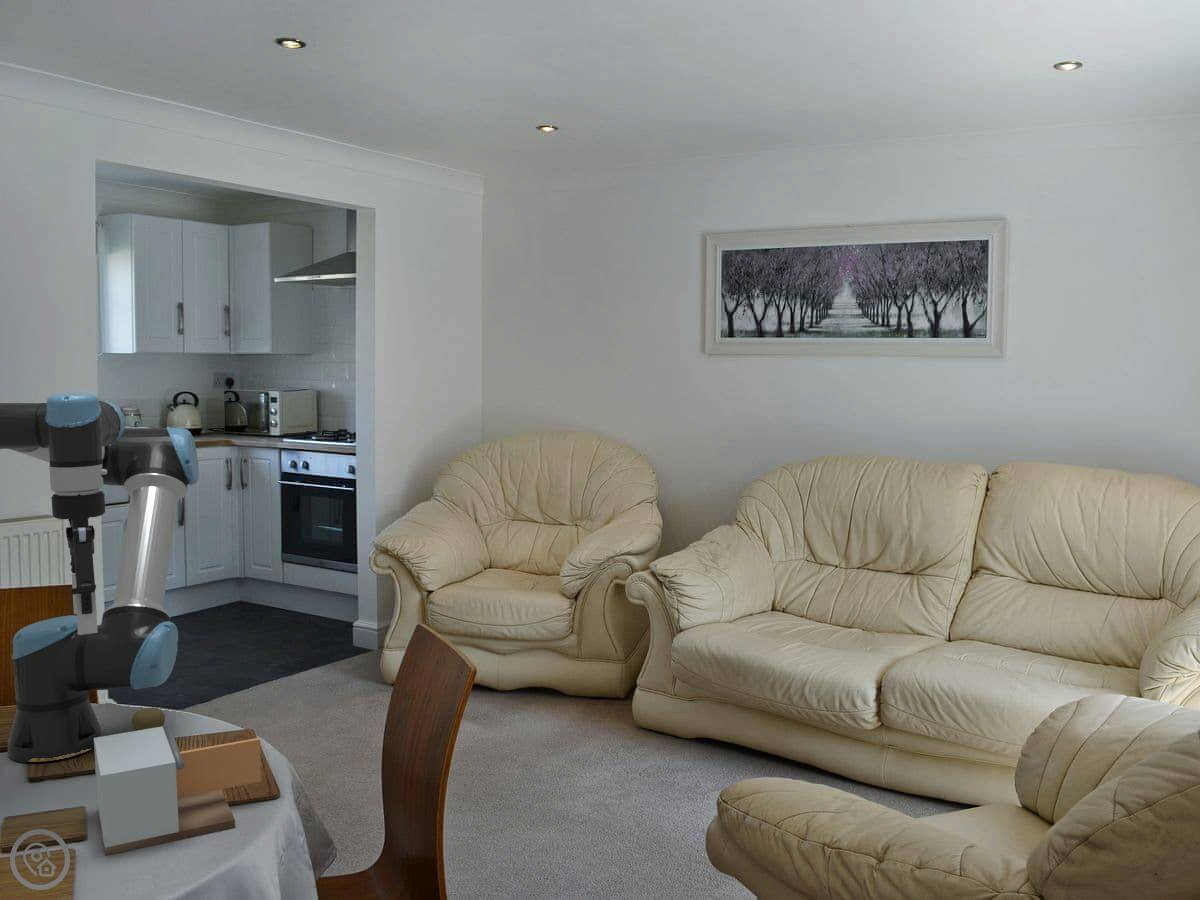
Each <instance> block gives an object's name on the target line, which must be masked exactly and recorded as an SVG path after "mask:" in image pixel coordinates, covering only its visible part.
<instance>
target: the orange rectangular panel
mask: <svg viewBox="0 0 1200 900" xmlns="http://www.w3.org/2000/svg"><path fill="white" fill-rule="evenodd" d="M179 752H180V754H181V757H182V760H183V762H184V768H183V769H181V770H178V769H176V782H177V798H180V797H185V796H190V795H195V794H200V793H205V792H210V791H215V790H220V789H221V790H224V789H229V788H230V789H231V788H234V787H238V786H239V787H240V786H244V785H245V786H246V785H248V784H254V783H258V782H259V783H260V782H262V761H261V759H262V758H261V739H260V737H256V738H255V737H254V738H251V739H245V740H240V741H233V742H227V743H222V744H216V745H211V746H206V747H205V746H204V747H200V748H193V749H188V750H183V751H179Z"/></svg>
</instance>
